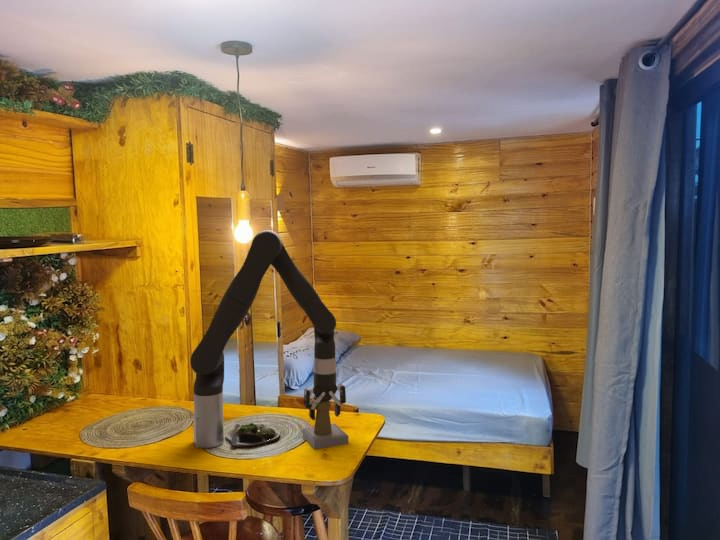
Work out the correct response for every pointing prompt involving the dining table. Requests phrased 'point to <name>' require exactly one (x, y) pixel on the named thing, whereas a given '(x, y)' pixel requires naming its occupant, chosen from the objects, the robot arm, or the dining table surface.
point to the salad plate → (252, 435)
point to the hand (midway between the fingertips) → (325, 417)
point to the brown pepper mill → (322, 419)
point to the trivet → (325, 437)
